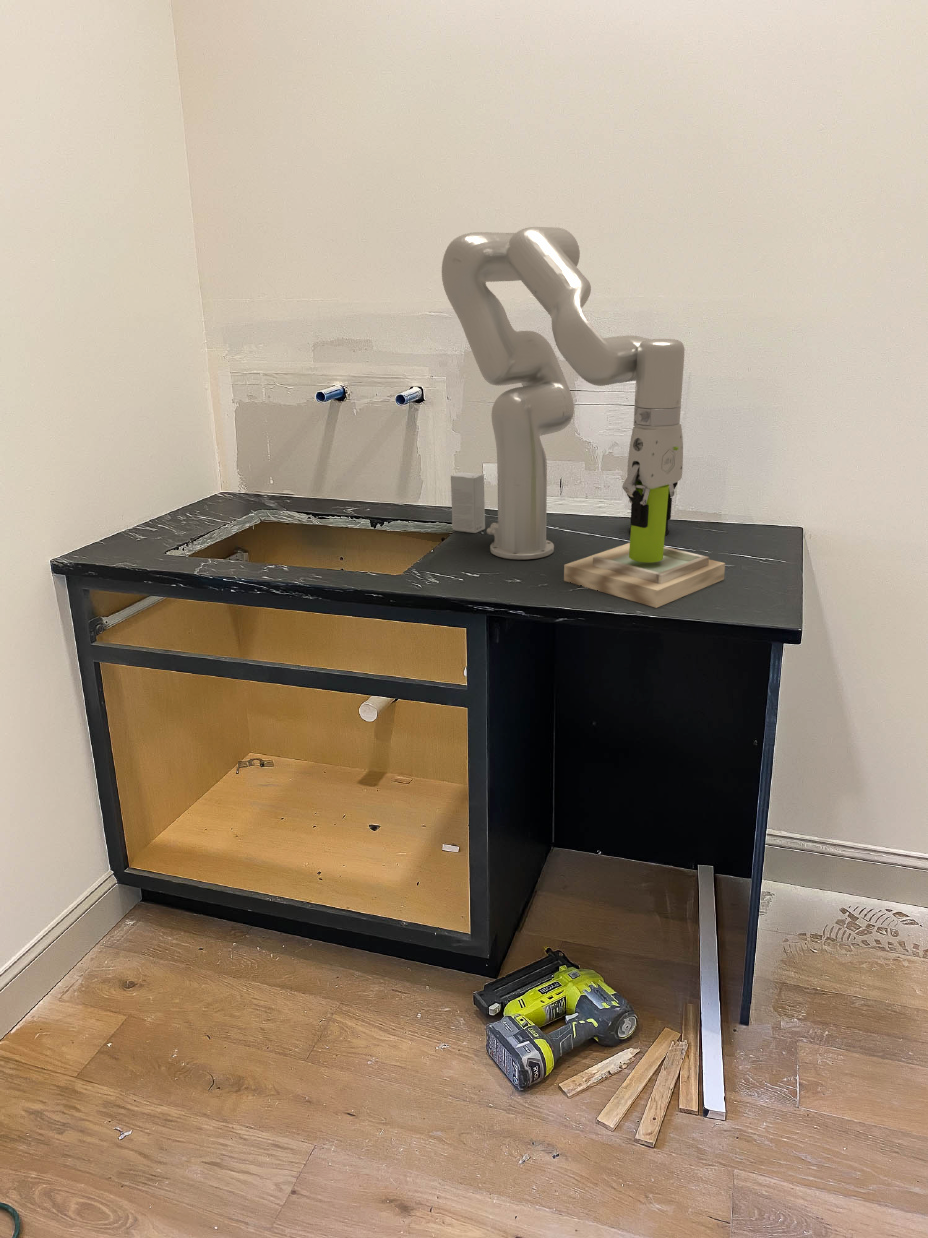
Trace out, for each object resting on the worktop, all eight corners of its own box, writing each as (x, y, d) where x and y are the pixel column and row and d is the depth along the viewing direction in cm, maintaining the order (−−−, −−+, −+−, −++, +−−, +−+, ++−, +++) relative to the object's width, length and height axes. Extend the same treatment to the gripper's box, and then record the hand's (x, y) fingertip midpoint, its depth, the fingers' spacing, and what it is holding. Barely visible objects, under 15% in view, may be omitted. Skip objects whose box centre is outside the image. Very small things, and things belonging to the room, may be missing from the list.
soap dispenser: (669, 563, 155) (679, 447, 148) (628, 561, 156) (636, 445, 149) (668, 554, 160) (678, 441, 153) (629, 551, 162) (637, 439, 154)
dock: (563, 580, 161) (564, 556, 159) (632, 556, 173) (633, 533, 172) (656, 607, 147) (658, 581, 145) (723, 579, 160) (726, 555, 158)
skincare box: (485, 529, 194) (485, 474, 190) (475, 533, 191) (474, 478, 186) (462, 525, 197) (460, 471, 193) (451, 530, 194) (449, 475, 189)
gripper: (643, 425, 141) (637, 536, 148) (705, 413, 152) (697, 516, 159) (606, 420, 146) (601, 528, 153) (668, 408, 157) (662, 509, 164)
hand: (650, 521), depth 156 cm, fingers closed on soap dispenser, 5 cm apart
